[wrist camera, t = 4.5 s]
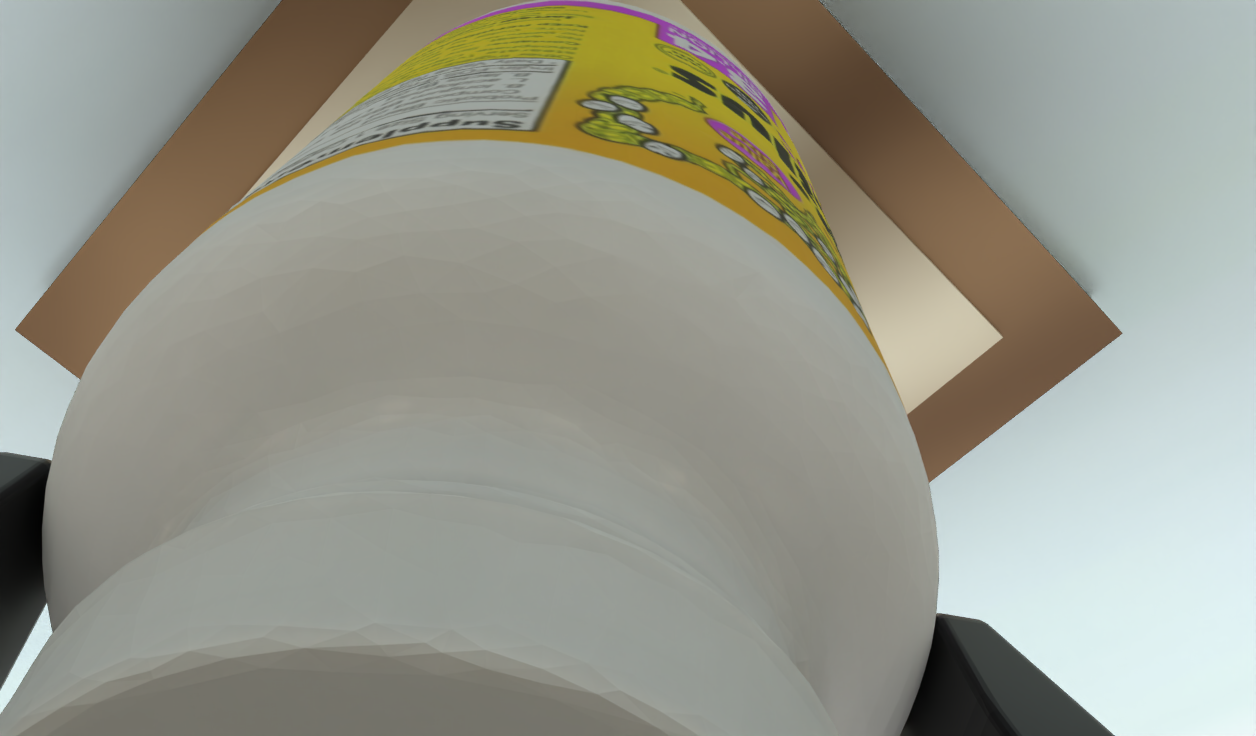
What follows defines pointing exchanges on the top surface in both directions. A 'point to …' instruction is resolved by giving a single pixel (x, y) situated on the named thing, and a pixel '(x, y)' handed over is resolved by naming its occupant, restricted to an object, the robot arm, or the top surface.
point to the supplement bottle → (498, 428)
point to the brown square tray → (806, 104)
